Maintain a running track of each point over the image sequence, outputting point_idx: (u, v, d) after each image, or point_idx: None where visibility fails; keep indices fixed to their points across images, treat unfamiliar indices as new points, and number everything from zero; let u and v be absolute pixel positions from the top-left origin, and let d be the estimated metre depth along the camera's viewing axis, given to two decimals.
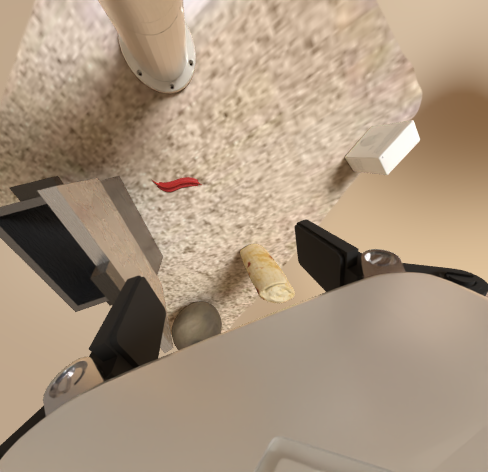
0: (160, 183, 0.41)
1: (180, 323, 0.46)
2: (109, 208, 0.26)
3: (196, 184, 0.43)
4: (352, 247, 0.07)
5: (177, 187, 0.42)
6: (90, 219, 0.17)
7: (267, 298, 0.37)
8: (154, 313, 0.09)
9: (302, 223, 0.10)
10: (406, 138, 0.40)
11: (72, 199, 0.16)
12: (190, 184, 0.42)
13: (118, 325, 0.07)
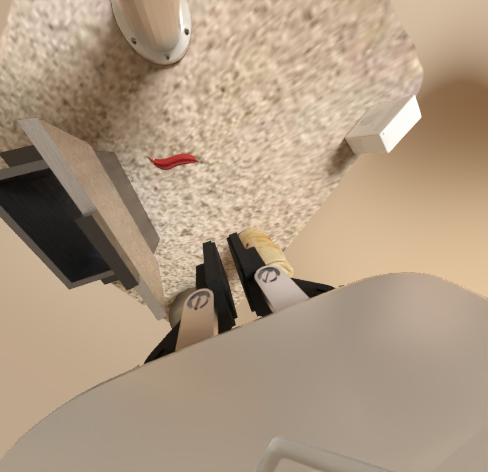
0: (156, 160, 0.40)
1: (177, 305, 0.45)
2: (101, 173, 0.25)
3: (193, 161, 0.42)
4: (250, 263, 0.08)
5: (173, 164, 0.41)
6: (76, 166, 0.17)
7: None
8: (224, 273, 0.11)
9: (230, 236, 0.11)
10: (407, 114, 0.39)
11: (56, 139, 0.15)
12: (187, 161, 0.41)
13: (218, 269, 0.08)
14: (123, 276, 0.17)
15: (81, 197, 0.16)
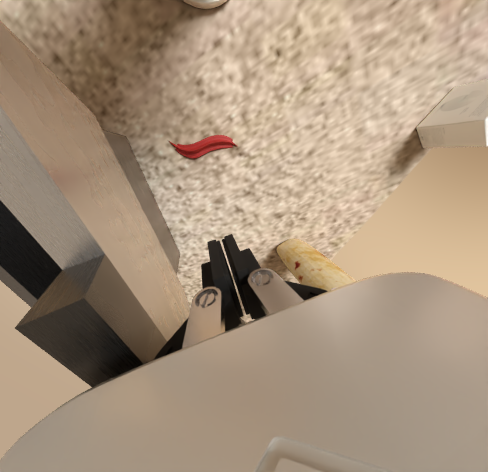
0: (181, 146, 0.29)
1: None
2: (112, 162, 0.14)
3: (229, 145, 0.31)
4: (244, 266, 0.08)
5: (205, 151, 0.30)
6: (50, 131, 0.06)
7: None
8: (229, 271, 0.11)
9: (225, 238, 0.10)
10: None
11: None
12: (222, 145, 0.30)
13: (225, 267, 0.08)
14: None
15: (57, 222, 0.05)
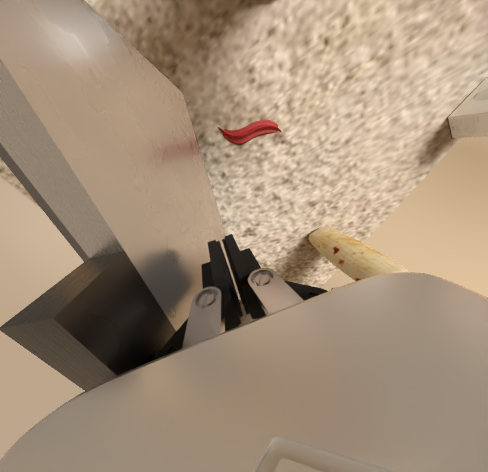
0: (229, 132, 0.30)
1: None
2: (186, 141, 0.15)
3: (274, 130, 0.31)
4: (244, 266, 0.08)
5: (251, 136, 0.31)
6: (97, 111, 0.06)
7: None
8: (229, 271, 0.11)
9: (225, 238, 0.10)
10: None
11: None
12: (267, 130, 0.31)
13: (224, 267, 0.08)
14: None
15: (80, 213, 0.05)
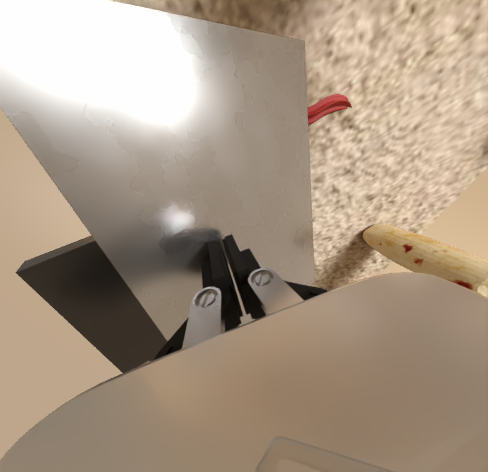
0: None
1: None
2: (271, 119, 0.12)
3: (344, 106, 0.28)
4: (244, 266, 0.08)
5: (320, 114, 0.27)
6: (97, 125, 0.07)
7: (487, 297, 0.23)
8: (229, 271, 0.11)
9: (225, 238, 0.10)
10: None
11: (25, 42, 0.05)
12: (337, 107, 0.27)
13: (224, 267, 0.08)
14: None
15: None
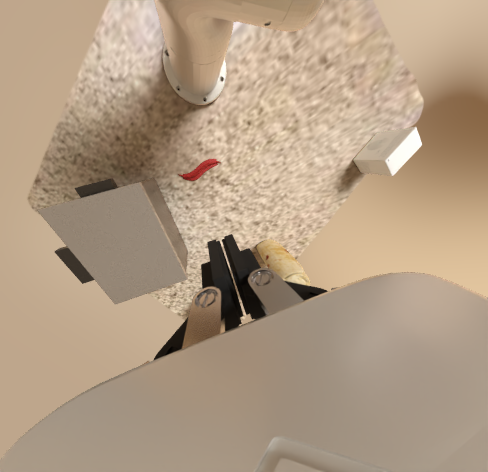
0: (186, 175, 0.44)
1: None
2: (125, 212, 0.32)
3: (216, 163, 0.45)
4: (244, 266, 0.08)
5: (201, 173, 0.45)
6: (65, 225, 0.31)
7: None
8: (229, 271, 0.11)
9: (225, 238, 0.10)
10: (410, 143, 0.45)
11: (52, 214, 0.30)
12: (211, 165, 0.45)
13: (224, 267, 0.08)
14: None
15: None
